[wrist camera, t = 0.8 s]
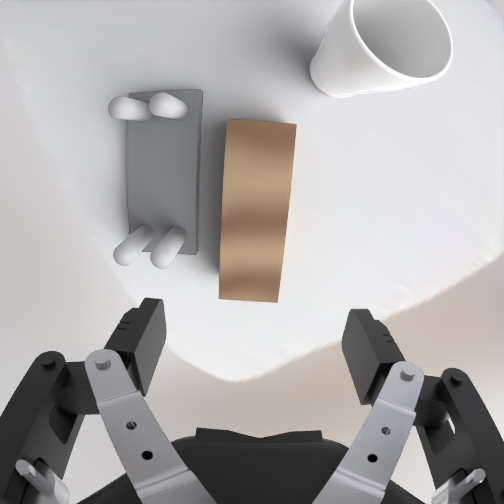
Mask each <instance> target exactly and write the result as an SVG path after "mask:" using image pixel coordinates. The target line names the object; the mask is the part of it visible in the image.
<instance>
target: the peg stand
mask: <svg viewBox="0 0 504 504" xmlns="http://www.w3.org/2000/svg"><path fill="white" fill-rule="evenodd" d="M202 100H203V91H202V90H200V89H199V90H168V91H152V92H140V93H130V94H129V98H127V97H123V96H118V97H115V98H114V99H113V100H112V101H111V102H110V104H109V108H108V110H109V114H110V115H111V117H113V118H115V119H126V120H128V121H127V197H128V218H129V233H130V236H129V237H128V238H126V239H125V240H124V241H123V242H122V243H121V244H120V245H119V246H118V247H116V248H115V250H114V253H113V256H114V259H115V261H116V262H117V263H118V264H119V265H121V266H128V265H129V264H131V262H132V261H133V260H134V259H135V258H136V257H137V256H138V254H139V253H140V252H152V253H151V256H150V259H151V262H152V264H153V265H154V266H155V267H157V268H159V269H165V268H167V267H169V266H170V264H171V263H172V261H173V259H174V258H175V256H176V254H189V255H196V253H197V251H198V205H199V163H200V137H201V117H202Z"/></svg>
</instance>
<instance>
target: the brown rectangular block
mask: <svg viewBox="0 0 504 504" xmlns="http://www.w3.org/2000/svg"><path fill="white" fill-rule="evenodd" d="M296 125H297V124H289V123H279V122H268V121H255V120H239V119H227V127H226V142H225V158H224V175H223V195H222V216H221V240H220V270H219V299H227V300H241V301H257V302H275V303H277V302H278V295H279V287H280V279H281V271H282V262H283V254H284V245H285V237H286V228H287V219H288V209H289V200H290V190H291V180H292V170H293V159H294V148H295V137H296Z"/></svg>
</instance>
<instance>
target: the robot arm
mask: <svg viewBox="0 0 504 504" xmlns="http://www.w3.org/2000/svg"><path fill="white" fill-rule="evenodd" d="M165 340H166V322H165V313H164V304H163V300H162V299H155V298H144V300H143V301H142V303H141V305H140V307H139V308H132V309H130V310H129V311H128V312H127V313H125V314H124V316H123V317H122V319H121V320H120V323H119V324H118V325H117V327H116V329H115V330H114V332H113V334H112V335H111V337H110V339H109V340H108V342H107V344H106V345H105V347H104V349H101V350H97V351H94V352H92V353H91V354H90V355H88V356H87V358H86V360H85V361H82V362H66V360H65V358H64V356H63V355H62V354H61V353H59V352H56V351H48V352H45V353H42V354H40V355H39V356H38V357H37V358H36V359H35V360H34V362H33V363H32V365H31V366H30V368H29V370H28V371H27V373H26V374H25V376H24V377H23V379H22V381H21V382H20V384H19V386H18V387H17V389H16V390H15V392H14V394H13V395H12V397H11V399H10V401H9V402H8V404H7V406H6V408H5V410H4V411H3V413H2V415H1V417H0V504H69V491H68V488H67V486H66V485H65V483H64V482H63V481H62V479H63V476H64V473H65V470H66V467H67V464H68V461H69V457H70V455H71V452H72V449H73V446H74V443H75V440H76V438H77V435H78V432H79V429H80V427H81V424H82V422H83V419H84V416H85V415H86V414H89V415H90V414H100V415H101V417H102V419H103V422H104V424H105V427H106V429H107V432H108V434H109V436H110V439H111V441H112V443H113V445H114V448H115V450H116V452H117V454H118V456H119V459H120V461H121V463H122V465H123V466H124V469H125V471H126V473H125V474H123V475H122V476H120V477H119V478H117V479H116V480H114V481H113V482H111V483H110V484H108V485H106V486H105V487H103V488H102V489H100V490H99V491H97V492H95V493H94V494H92V495H90V496H89V497H87V498H86V499H84V500H82V501H80V502H79V503H77V504H425V503H424V502H422V501H421V500H419V499H418V498H416V497H415V496H413V495H412V494H410V493H409V492H407V491H406V490H405V489H403V488H402V487H400V486H399V485H397V484H396V483H395V482H393V481H392V480H390V478H391V476H392V474H393V471H394V469H395V467H396V465H397V462H398V460H399V458H400V456H401V453H402V451H403V448H404V445H405V443H406V441H407V438H408V435H409V433H410V430H411V427H412V425H413V426H416V429H417V432H418V434H419V437H420V440H421V443H422V446H423V449H424V452H425V455H426V459H427V462H428V465H429V468H430V471H431V475H432V478H433V482H434V485H435V488H436V491H435V493H434V494H433V497H432V504H504V441H503V439H502V437H501V435H500V433H499V431H498V429H497V427H496V425H495V423H494V421H493V419H492V418H491V416H490V414H489V412H488V410H487V408H486V406H485V404H484V403H483V401H482V399H481V397H480V395H479V394H478V392H477V390H476V389H475V387H474V385H473V384H472V382H471V380H470V378H469V377H468V375H467V374H466V373H464V372H463V371H461V370H459V369H456V368H448V369H446V370H444V371H443V373H442V375H441V377H433V376H426V375H424V373H423V371H422V370H421V368H420V367H418V366H417V365H415V364H414V363H411V362H407V361H405V359H404V357H403V355H402V353H401V352H400V350H399V348H398V346H397V344H396V343H395V342H394V339H393V337H392V336H391V335H390V332H389V331H388V329H387V327H386V326H385V325H384V324H382V323H381V322H380V321H379V320H374V318H373V317H372V315H371V313H370V311H369V310H368V309H351V310H350V312H349V315H348V319H347V322H346V326H345V330H344V333H343V337H342V350H343V353H344V356H345V359H346V362H347V365H348V367H349V371H350V373H351V376H352V379H353V382H354V385H355V388H356V391H357V394H358V397H359V400H360V403H361V405H368V404H371V405H372V409H371V411H370V413H369V415H368V417H367V419H366V421H365V422H364V424H363V426H362V428H361V430H360V431H359V433H358V435H357V437H356V438H355V440H354V442H353V443H352V445H351V447H350V448H348V447H346V446H344V445H342V444H340V443H338V442H335V441H332V440H328V439H323V438H322V433H321V430H320V431H319V430H318V431H298V432H297V431H296V432H287V433H283V434H278V435H274V436H269V437H264V438H256V437H252V436H248V435H244V434H240V433H236V432H232V431H229V430H218V429H206V428H197V430H196V435H195V436H190V437H184V438H181V439H177V440H175V441H173V442H169V440H168V438H167V437H166V435H165V433H164V432H163V430H162V429H161V427H160V425H159V424H158V422H157V421H156V419H155V417H154V415H153V414H152V412H151V410H150V408H149V407H148V405H147V403H146V401H145V400H144V398H143V397H146V394H147V391H148V388H149V385H150V382H151V380H152V377H153V374H154V371H155V368H156V365H157V363H158V360H159V357H160V355H161V352H162V349H163V346H164V344H165ZM449 417H450V418H451V420H452V422H453V424H454V427H455V434H454V433H453V430H452V428H451V426H450V424H449V421H448V418H449Z"/></svg>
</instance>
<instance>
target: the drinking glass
mask: <svg viewBox="0 0 504 504" xmlns="http://www.w3.org/2000/svg"><path fill="white" fill-rule="evenodd" d="M452 56H453V42H452V37H451V33H450V30H449V27H448V25H447V23H446V21H445V19H444V18H443V16H442V14H441V13H440V11H439V10H438V9H437V8H436V6H435V5H434V4H433V3H432V2H431V1H430V0H344V1H343V2H342V4H341V5H340V6H339V7H338V9H337V10H336V12H335V14H334V15H333V17H332V19H331V20H330V22H329V25H328V27H327V29H326V32H325V34H324V36H323V39H322V41H321V43H320V46H319V48H318V50H317V52H316V54H315V55H314V57H313V59H312V61H311V64H310V75H311V78H312V80H313V82H314V84H315V85H316V87H317V88H318V89H319V90H320V91H322V92H323V93H325V94H326V95H329V96H331V97H335V98H346V97H349V96H352V95H359V94H368V93H379V92H390V91H397V90H402V89H407V88H411V87H414V86H418V85H421V84H424V83H427V82H430V81H433V80H436V79H437V78H439V77H440V76H442V75H443V74H444V73H445V72H446V70H447V69H448V67H449V66H450V63H451V60H452Z"/></svg>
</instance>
